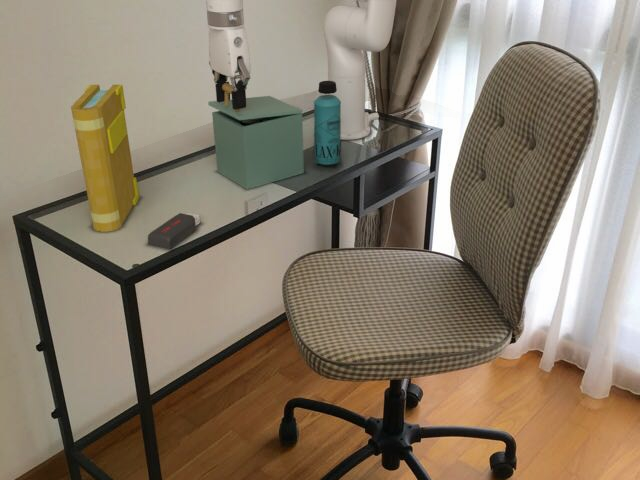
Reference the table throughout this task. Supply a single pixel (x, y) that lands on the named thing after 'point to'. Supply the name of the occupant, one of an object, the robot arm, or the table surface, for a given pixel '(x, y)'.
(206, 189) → the table surface
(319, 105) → the beverage bottle
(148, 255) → the table surface
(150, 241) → the usb drive
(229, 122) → the bin
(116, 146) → the book
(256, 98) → the bin lid
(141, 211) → the table surface
